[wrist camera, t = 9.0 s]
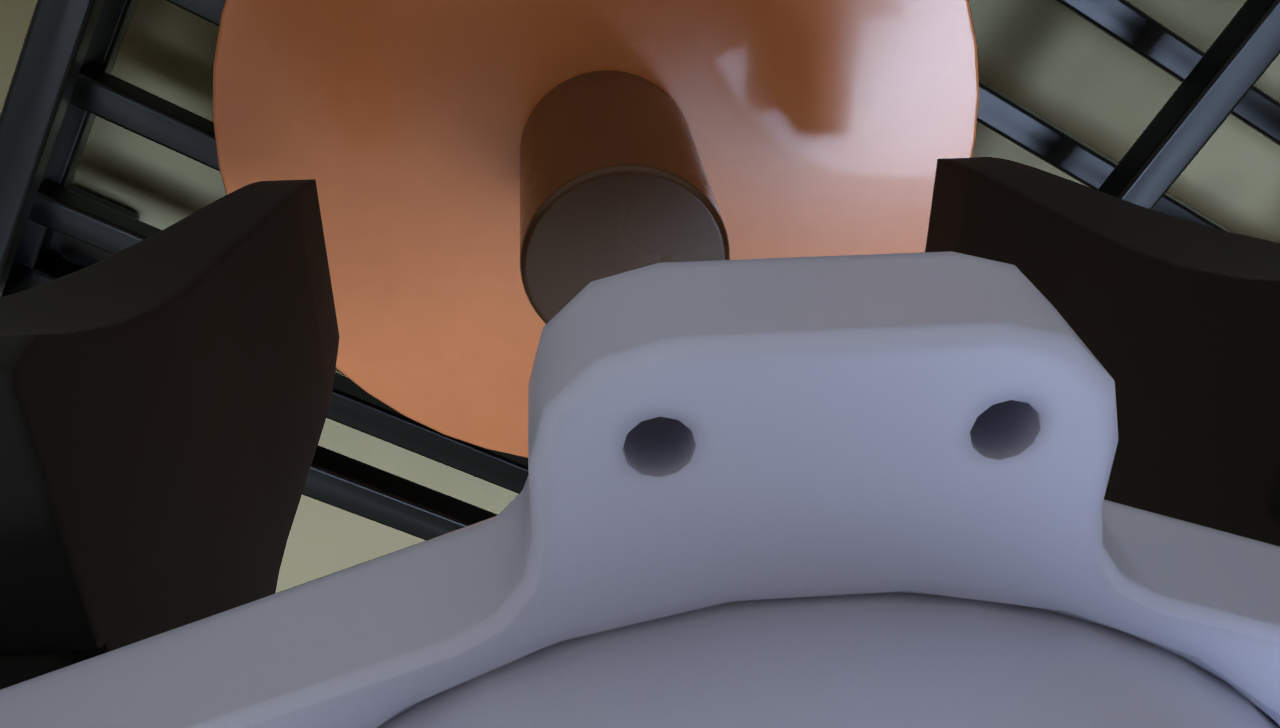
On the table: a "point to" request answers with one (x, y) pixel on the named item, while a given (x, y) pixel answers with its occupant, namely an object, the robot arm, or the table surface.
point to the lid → (576, 158)
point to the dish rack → (96, 229)
